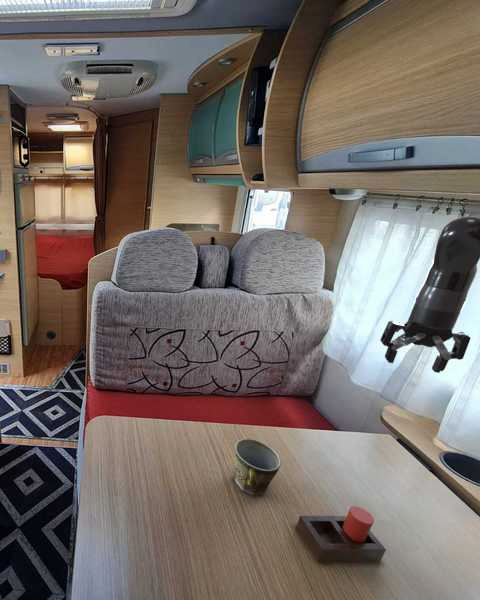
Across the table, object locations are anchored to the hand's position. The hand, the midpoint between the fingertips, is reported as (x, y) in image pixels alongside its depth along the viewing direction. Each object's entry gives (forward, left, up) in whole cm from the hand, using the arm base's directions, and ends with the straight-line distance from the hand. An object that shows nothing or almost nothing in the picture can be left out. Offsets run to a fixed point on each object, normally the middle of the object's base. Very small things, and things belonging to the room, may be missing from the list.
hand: (411, 366), depth 81 cm
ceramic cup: (+30, +27, -30) cm, 50 cm away
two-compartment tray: (+13, +33, -30) cm, 47 cm away
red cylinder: (+11, +32, -30) cm, 45 cm away
